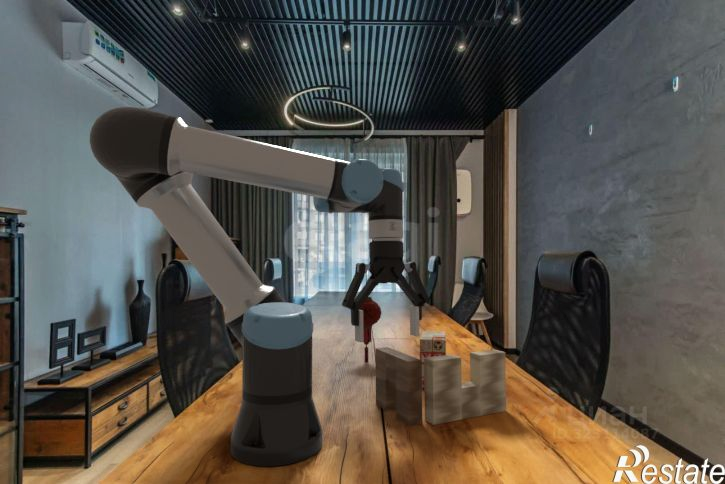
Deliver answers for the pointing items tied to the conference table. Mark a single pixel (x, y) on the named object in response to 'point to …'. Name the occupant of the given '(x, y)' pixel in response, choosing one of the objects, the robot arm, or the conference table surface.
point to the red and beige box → (431, 346)
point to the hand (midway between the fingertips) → (387, 338)
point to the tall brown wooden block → (399, 384)
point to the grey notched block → (464, 386)
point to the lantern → (369, 319)
